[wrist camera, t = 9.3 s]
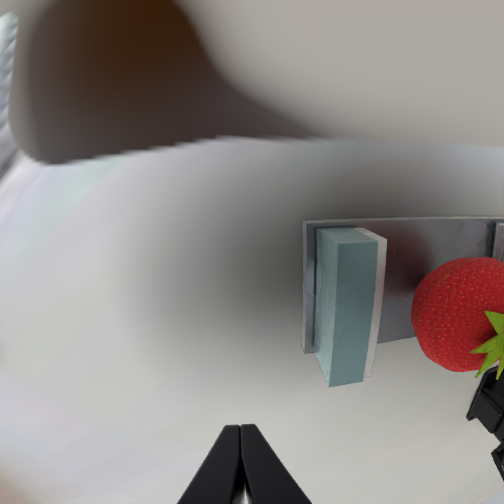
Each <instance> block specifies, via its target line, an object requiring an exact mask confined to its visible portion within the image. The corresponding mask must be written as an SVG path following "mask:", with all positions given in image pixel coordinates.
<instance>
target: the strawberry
mask: <svg viewBox="0 0 504 504" xmlns="http://www.w3.org/2000/svg"><path fill="white" fill-rule="evenodd" d="M411 324H412V326H413V329H414V332H415V334H416V336H417V339H418V341H419V344H420V346H421V349H422V351H423V352H424V353H425V355H426V356H427V357H428V358H429V359H431V360H432V361H434V362H435V363H437V364H439V365H441V366H442V367H444V368H446V369H448V370H451V371H454V372H466V371H472V370H478V369H479V371H478V373H477V375H476V376H475V378H476V377H478V376H479V375H480V374H481V373H482V372H484V371H485V370H486V369H487V368H488V367H489V366H491V365H492V364H493V363H495V362H496V361H497V360H499V359H500V360H499V366H498V372H497V377H496V379H497V380H498V378H499V376H500V374H501V372H502V370H503V368H504V263H503V262H501V261H499V260H497V259H495V258H489V257H472V258H458V259H454V260H451V261H449V262H447V263H445V264H443V265H441V266H439V267H438V268H436V269H435V270H433V271H432V272H430V273H429V274H427V275H426V276H425V277H424V278H423V279H422V280H421V282H420V283H419V284H418V286H417V288H416V291H415V294H414V298H413V302H412V308H411Z"/></svg>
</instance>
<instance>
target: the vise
mask: <svg viewBox="0 0 504 504" xmlns="http://www.w3.org/2000/svg"><path fill="white" fill-rule="evenodd" d="M341 227H351V228H359V227H362V228H364V229H367V230H369V231H371V232H373V233H375V234H377V235H379V236H381V237H383V238H385V239H387V250H386V264H385V277H384V288H383V297H382V306H381V315H380V323H379V330H378V337H377V343H376V344H378V343H384V342H389V341H395V340H400V339H405V338H410V337H415V336H416V334H415V332H414V329H413V326H412V324H411V308H412V302H413V298H414V294H415V291H416V288H417V286H418V284H419V283H420V282H421V280H422V279H423V278H424V277H425V276H426V275H427V274H429V273H430V272H432V271H433V270H435V269H436V268H438V267H439V266H441V265H443V264H445V263H447V262H449V261H451V260H454V259H458V258H472V257H489V258H495V259H497V260H499V261H501V262H503V263H504V217H503V216H438V217H384V218H350V219H323V220H302V245H303V290H302V343H301V346H302V348H303V351H304V354H307V353H314V337H315V313H316V276H317V229H319V228H341Z"/></svg>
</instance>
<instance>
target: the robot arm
mask: <svg viewBox="0 0 504 504" xmlns="http://www.w3.org/2000/svg"><path fill="white" fill-rule="evenodd" d="M497 372H498V367H497V368H494V369H492V370H489V371H488V372H486V373H485V375H484V377H483V380H482V382H481V385H480V387H479V390H478V392H477V395H476V397H475V399H474V402H473V404H472V406H471V409H470V411H469V413H468V415H467V420H468V421H471V420H473V419H475V418H478V419H479V421H480V422H481V423H482V424H483V425H484V427H485V428H486V429H487V430H488V431H489V433H491V434H492V433H493V434H494V435H495V436H496V438H497V439H498V440H499V441H500V442H501V443H500V445H499V446H498V447H497V448H496V449H494V450H493V451H492V452H491V455H492V457H493V460H494V462H495V464H496V466H497V468H498V470H499V472H500V474H501V477H502V479H503V481H504V368H503V370H502V372H501V374H500V376H499V378H498V380H497V379H496V377H497ZM245 490H246V496H247V500H248V504H312V503H311V501H310V500H309V499H308V497H307V496H306V495H305V493H304V492H303V491H302V490H301V488H300V487H299V486H298V484H297V483H296V482H295V480H294V479H293V477H292V476H291V475H290V473H289V472H288V471H287V469H286V468H285V466H284V465H283V464H282V462H281V461H280V459H279V458H278V457H277V455H276V454H275V452H274V451H273V450H272V448H271V447H270V445H269V444H268V442H267V441H266V439H265V438H264V436H263V435H262V433H261V432H260V430H259V429H258V427H257V426H256V425H255V424H242V425H241V426H239V425H226V426H225V427H224V428H223V430H222V431H221V433H220V435H219V436H218V438H217V440H216V441H215V443H214V445H213V447H212V448H211V450H210V452H209V453H208V455H207V457H206V458H205V460H204V461H203V463H202V465H201V466H200V468H199V470H198V471H197V473H196V474H195V476H194V478H193V479H192V481H191V482H190V484H189V486H188V487H187V489H186V490H185V492H184V493H183V495H182V497H181V498H180V500H179V501H178V503H177V504H244V501H245Z"/></svg>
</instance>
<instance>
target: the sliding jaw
mask: <svg viewBox="0 0 504 504" xmlns="http://www.w3.org/2000/svg"><path fill="white" fill-rule="evenodd" d="M386 250H387V239H385V238H383V237H381V236H379V235H377V234H375V233H373V232H371V231H369V230H367V229H364V228H362V227H359V228H351V227H341V228H319V229H317V276H316V313H315V337H314V354H315V356H316V359H317V361H318V363H319V366H320V368H321V370H322V373H323V375H324V377H325V380H326V382H327V385H328V387H333V386H339V385H345V384H351V383H357V382H362V381H363V378H365V377H370V376H371V373H372V367H373V362H374V356H375V350H376V343H377V337H378V330H379V323H380V315H381V306H382V297H383V288H384V277H385V264H386Z"/></svg>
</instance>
